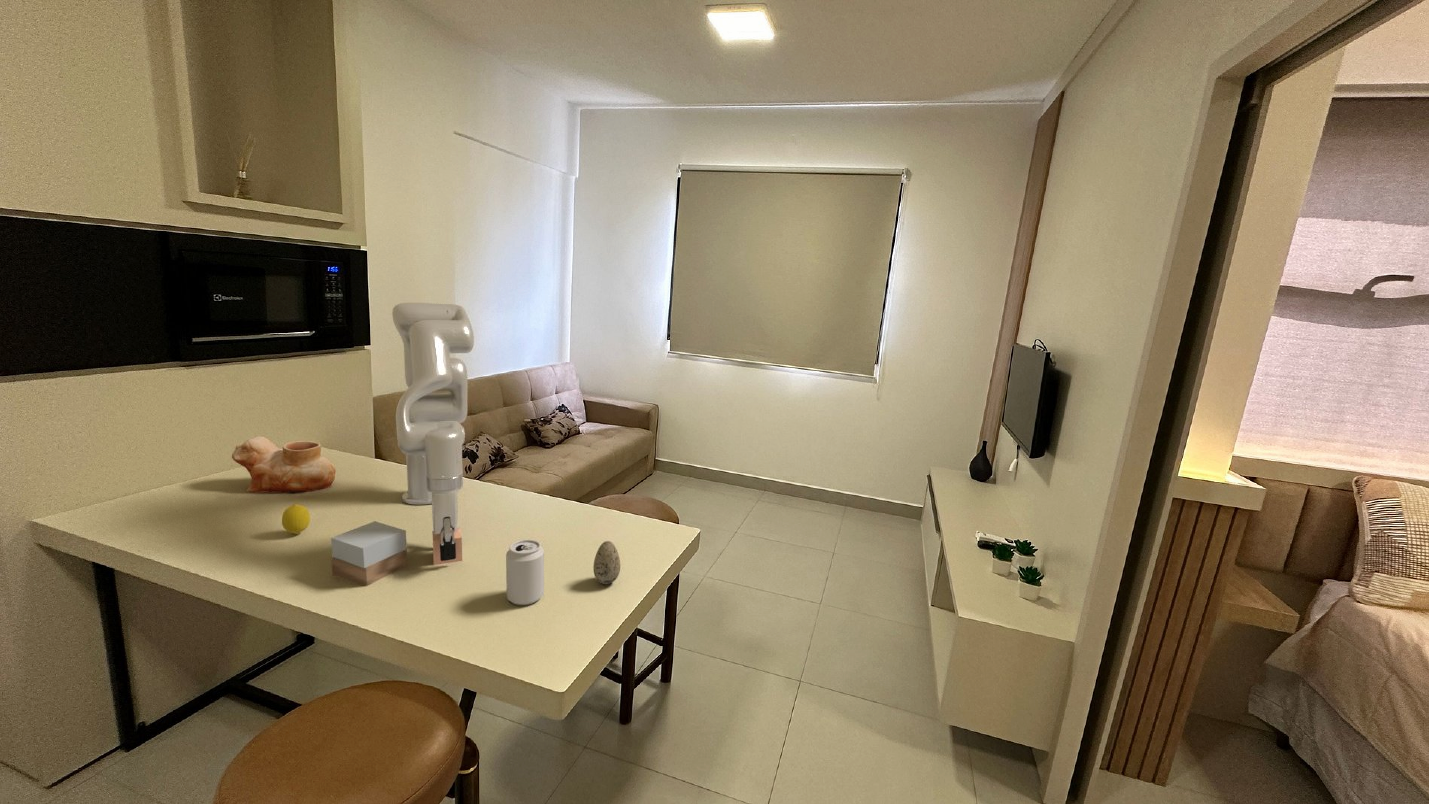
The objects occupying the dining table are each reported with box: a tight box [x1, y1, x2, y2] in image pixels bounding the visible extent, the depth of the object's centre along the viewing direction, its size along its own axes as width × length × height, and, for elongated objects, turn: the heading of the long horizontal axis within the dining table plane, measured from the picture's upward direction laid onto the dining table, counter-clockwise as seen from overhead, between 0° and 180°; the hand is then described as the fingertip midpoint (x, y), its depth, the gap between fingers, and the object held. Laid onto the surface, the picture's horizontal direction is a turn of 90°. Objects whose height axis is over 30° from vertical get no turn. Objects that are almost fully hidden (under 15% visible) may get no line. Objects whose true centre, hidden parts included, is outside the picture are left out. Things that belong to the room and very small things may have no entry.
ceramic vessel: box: [231, 435, 336, 494], centre depth 164 cm, size 14×26×15 cm, turn 97°
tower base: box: [331, 549, 408, 587], centre depth 122 cm, size 10×10×4 cm
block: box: [431, 526, 463, 566], centre depth 129 cm, size 6×6×6 cm
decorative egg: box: [592, 540, 621, 585], centre depth 122 cm, size 6×6×10 cm
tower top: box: [330, 521, 408, 568], centre depth 121 cm, size 10×10×4 cm
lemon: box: [281, 503, 311, 536], centre depth 136 cm, size 6×6×8 cm
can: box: [505, 538, 545, 606], centre depth 114 cm, size 8×8×12 cm
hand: (447, 550), depth 130 cm, fingers open, 9 cm apart
